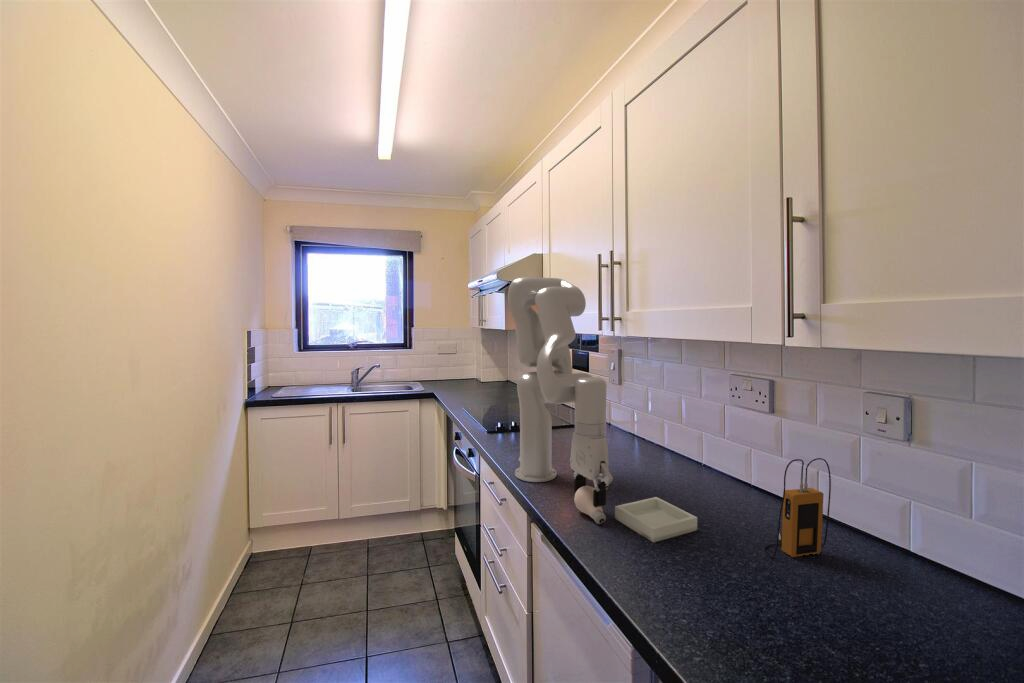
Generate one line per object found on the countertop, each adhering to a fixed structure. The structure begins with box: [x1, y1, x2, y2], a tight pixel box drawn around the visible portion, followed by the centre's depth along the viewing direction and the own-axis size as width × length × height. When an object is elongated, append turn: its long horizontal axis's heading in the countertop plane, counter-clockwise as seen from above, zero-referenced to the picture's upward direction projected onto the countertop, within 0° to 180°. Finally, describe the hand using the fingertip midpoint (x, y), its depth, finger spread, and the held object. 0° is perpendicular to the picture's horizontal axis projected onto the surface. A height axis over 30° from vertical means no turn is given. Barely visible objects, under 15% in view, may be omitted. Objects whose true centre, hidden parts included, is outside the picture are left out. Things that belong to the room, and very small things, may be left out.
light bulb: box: [573, 485, 607, 525], centre depth 111 cm, size 7×7×11 cm
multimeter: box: [764, 457, 832, 559], centre depth 97 cm, size 15×10×20 cm
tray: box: [614, 496, 698, 543], centre depth 107 cm, size 13×13×3 cm
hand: (589, 499), depth 113 cm, fingers closed on light bulb, 7 cm apart
